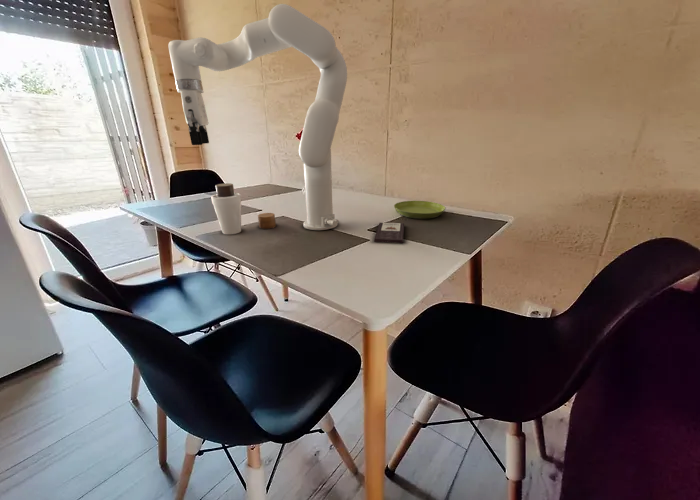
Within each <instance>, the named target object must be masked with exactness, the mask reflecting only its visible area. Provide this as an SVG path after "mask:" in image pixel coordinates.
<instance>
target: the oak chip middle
mask: <svg viewBox="0 0 700 500" xmlns="http://www.w3.org/2000/svg"><path fill="white" fill-rule="evenodd" d="M257 221H258V223H259V222H260V223H270V222H273V221H275V222H276V214H275V213H273V212H263V213H259V214H258V215H257Z"/></svg>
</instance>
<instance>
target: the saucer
mask: <svg viewBox="0 0 700 500" xmlns="http://www.w3.org/2000/svg"><path fill="white" fill-rule="evenodd" d="M393 207H394V209H395V211H396V212H397V214H399V215H400V216H402V217H406V218H409V219H410V218H411V219H417V220H429V219H434V218H437V217H439V216H440V215H442V214H443V213H444V212H445V210H446V207H445V206H444V205H443V204H441V203H438V202H433V201H429V200H426V201H425V200H403V201H399V202H396V203H395V204H394V205H393Z"/></svg>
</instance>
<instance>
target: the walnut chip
mask: <svg viewBox="0 0 700 500" xmlns="http://www.w3.org/2000/svg"><path fill="white" fill-rule="evenodd" d="M214 187H215V191H216V194H217V196H218V197H230V196H233V195H235V194H234V193H235V188H234V183H228V182H227V183H217V184H215V186H214Z"/></svg>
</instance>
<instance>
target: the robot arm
mask: <svg viewBox="0 0 700 500" xmlns="http://www.w3.org/2000/svg"><path fill="white" fill-rule="evenodd" d="M167 47H168V52H169V57H170V62H171V67H172V72H173V77H174V81H175V82H174V83H175V87H176V90H177V93H178V94H179V93H180V96H181V97H180V98H181V104H182V109H183V114H184V117H185V118H184V119H185V122H186V124H187V126H188V133H189V137H190V143H191V146H202V145H203V144H210V140H209V134H208V130H207V126H208V125H209V119H208V115H207V110H206V106H205V101H204V97H203V95H202V94H203V93H204V88H203V83H202V82H203V81H202V77H201V70H200V67H202V68H206V69H208V70H211V71H214V72H225V71H229V70H232V69H235V68H240V67H241V66H243V65H246V64H248V63H250V62H252V61H254V60H255V59H257V58H259V57H262V56H266V55H269V54H273V53H276V52H279V51H283V50H287V49H290V48H293V49H294V50H297V51H298V52H300V53H302V54H303V55H305V56H307V57H308V58H309V59H310V60H311V61H312V63H313V64H314V65H315V66H316V67H317V68H318V70H319V72H320V77H319V81H318V85H317V90H316V95H315V97H314V98H315V99H314V101H313V102H312V103H311V104H310V105H309V107H308V108H307V111H306V115H305V119H304V123H303V127H302V133H301V137H300V141H299V146H298V155H299V158H300V160H301V162H302V163H303V176H304V193H305V206H306V209H305V210H306V220H305V221H304V222H303V223H302V225H303V228H304V229H307V230H310V231H326V230H331V229H334V228H337V226H338V224H339V219H338V218H335V214H334V209H333V208H334V207H333V178H332V145H333V141H334V137H335V133H336V129H337V126H338V123H339V120H340V112H341V109H342V108H341V107H342V104H343V100H344V95H345V90H346V86H347V81H348V67H347V63H346V61H345V57H344V56H343V54H342V53H341V51H340V49H338V47H337V46H336V40H335V38H334V36H333V34H332V32H330V30H328V29H327V28H326V27H325V26H323V25H321V24H320V23H318V22H316V21H315V20H313V19H312V18H310V17H308V16H307V15H306V14H304V13H303V12H301V11H299V10H298V9H296V8H295V7H293V6H291V5H290V4H287V3H278V4H276V5H275V6H273V7H272V8H271V9H270V11H269V13H268V17H266V18H263V19H259V20H256V21H252V22H249V23H246V24H245V25H243V27H242V29H241V32H240V33H239V35H238V36H237V37H235V38H233V39H231V40H228V41H226V42H222V43H218V44H217V43H216V42H214V41H211V40H210V39H208V38H206V37H195V38H191V39H187V40H183V39H174V40H170V41H169V42H168V46H167Z"/></svg>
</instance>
